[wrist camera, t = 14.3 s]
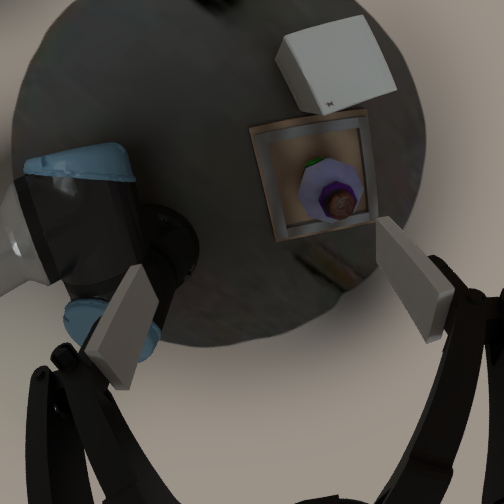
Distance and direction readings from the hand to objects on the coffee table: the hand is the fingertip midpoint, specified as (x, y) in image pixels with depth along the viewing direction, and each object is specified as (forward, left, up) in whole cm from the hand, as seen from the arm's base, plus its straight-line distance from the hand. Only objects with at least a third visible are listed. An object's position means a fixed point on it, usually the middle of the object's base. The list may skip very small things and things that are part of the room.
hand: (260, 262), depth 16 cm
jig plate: (+8, -5, -29) cm, 31 cm away
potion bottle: (+8, -5, -28) cm, 29 cm away
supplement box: (+11, +10, -30) cm, 33 cm away
